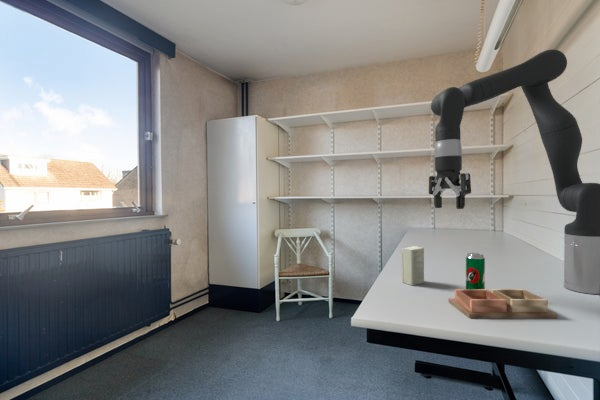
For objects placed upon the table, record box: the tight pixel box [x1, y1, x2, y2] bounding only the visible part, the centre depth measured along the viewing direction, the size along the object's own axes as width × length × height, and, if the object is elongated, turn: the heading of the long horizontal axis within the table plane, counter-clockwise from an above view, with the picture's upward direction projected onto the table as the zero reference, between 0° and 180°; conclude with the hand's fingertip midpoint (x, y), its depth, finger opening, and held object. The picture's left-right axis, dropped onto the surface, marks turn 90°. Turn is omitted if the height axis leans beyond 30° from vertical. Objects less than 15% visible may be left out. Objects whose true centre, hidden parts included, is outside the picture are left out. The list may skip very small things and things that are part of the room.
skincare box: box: [401, 245, 425, 286], centre depth 104 cm, size 6×4×12 cm
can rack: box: [447, 288, 557, 319], centre depth 80 cm, size 21×11×4 cm, turn 89°
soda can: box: [465, 252, 486, 289], centre depth 93 cm, size 5×5×12 cm
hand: (448, 208), depth 94 cm, fingers open, 8 cm apart
